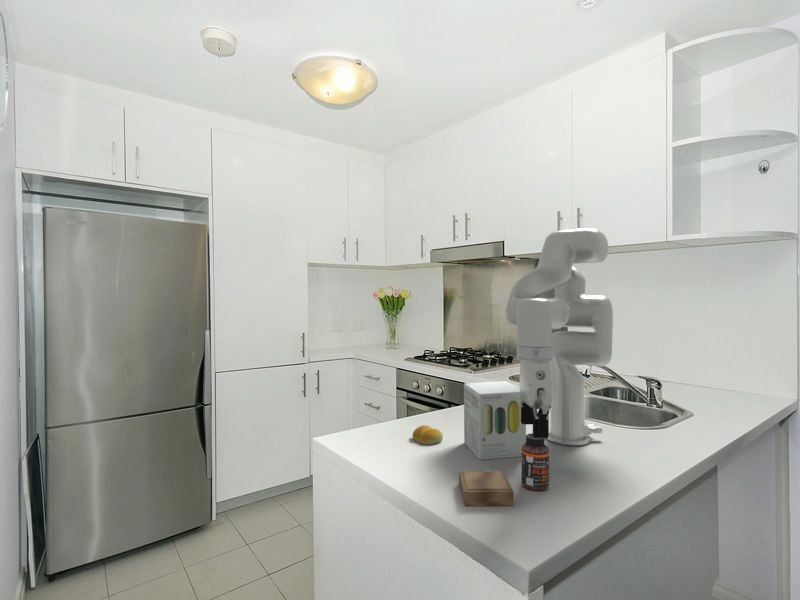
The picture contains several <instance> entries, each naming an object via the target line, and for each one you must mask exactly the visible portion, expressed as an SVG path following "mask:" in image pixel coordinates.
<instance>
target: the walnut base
mask: <svg viewBox="0 0 800 600" xmlns="http://www.w3.org/2000/svg"><path fill="white" fill-rule="evenodd" d="M458 485H459V490H460V494H461V497H462V501H463V505H464V507H514V505H515V504H514V489H513V488H512V486H511V484H510V482H509V480H508V478H507V476H506V474H505V472H504V470H459V471H458Z"/></svg>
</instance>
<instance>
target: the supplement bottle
mask: <svg viewBox="0 0 800 600" xmlns="http://www.w3.org/2000/svg"><path fill="white" fill-rule="evenodd" d="M545 443H546V438H534V437H533V432H532V433H526V443H524V444H523V445H522V453H521V454H522V456H521V471H520V473H521V478H520V479H521V484H522V486H523V487H525V488H526V489H528V490H530V491H537V492H538V491H541V492H542V491H546V490H547V489H548V488H549V486H550V448H549V447H548V446H547V445H546V444H545Z"/></svg>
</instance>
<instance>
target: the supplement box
mask: <svg viewBox="0 0 800 600" xmlns="http://www.w3.org/2000/svg"><path fill="white" fill-rule="evenodd" d="M521 400H522V399H521V397H520V387H518V386H516V385H514V384H513V383H510V382H508V381H506V380H503V381H483V382H470V383H463V427H464V428H463V438H464V439H463V442H464V444H465V445H466V446H467V447H468V448H469V450H471V452H472V453H473V455H475V456H476V457H477V459H479V460H480V461H481V460H491V459H504V458H505V459H507V458H519V457H522V454H521V453H522V445H523V444H524V443H526V435H527V424H522V423H521V407H524V406H521Z"/></svg>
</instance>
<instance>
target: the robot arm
mask: <svg viewBox="0 0 800 600" xmlns="http://www.w3.org/2000/svg"><path fill="white" fill-rule="evenodd" d="M608 254H609V242H608V239H607V236H606V235H605V234H604V233H603V232H601V231H600V230H599V229H596V228H589V227H587V228H576V229H574V228H573V229H564V230H556V231H553V232H551V233H550V234H548V236H546V238H545V240H544V243H543V246H542V248H541V253H540V257H539V260H538V263H537V266H536V267H534V269H531V270H530V271H529V272H527V273H526V274H524V275H523V276H522V277H521V278H519V279H518V280H517V281H516V283H514V285H513V286H512V289H511V291H510V295H509V297H508V301H507V303H506V308H505V317H506V321H507V323H508V324H509V325H510V327H513V328H516V361H518V362H520V365H519V388H520V397H521V399H522V400H521V406H524V407H521V423H522V424H526V425H532V433H533V437H534V438H545V439H546V440H548V441H550V442H552V443H554V444H559V445H564V446H573V447H575V446H578V447H579V446H585V445H588V444H589V443H591V441H592V440H591V439H592V437H591V435H592V434H602V433H603V428H602V426H594V424H587V423H586V419H585V418H586V412H585V411H586V409H585V408H586V406H585V403H586V401H585V400H586V399H585V398H586V397H585V393H586V392H585V391H586V390H585V389H586V388H585V385H586V384H585V383H586V382H585V378H584V376H583V374H582V372H581V371H580V370H579V368H577V366H592V367H593V366H594V367H605V366H607V365H609V364H610V362H611V360H612V354H613V327H614V325H613V323H614V322H613V321H614V319H613V318H614V313H613V312H614V311H613V305H612V302H611V300H610V299H609V298H608V297H607V296H604V295H599V294H598V295H597V294H596V295H595V294H594V295H593V294H592V295H590V294H589V295H587V294H586V283H587V282H586V278H585V277H584V276H583V274H582V273H581V272H580V271H579V270H578V269H577V267H575V266H574V264H597V263H598V264H599V263H602V262H605V260H606V259H607V257H608ZM552 290H554V297H540V296H539V297H535V296H537V295H540V294H542V293H546V292H549V291H552ZM563 327H564V328H581V329H583V328H584V329H587V328H588V329H592V330H594V331H578V330H576V331H574V330H573V331H572V330H571V331H570V330H560V329H562V328H563ZM552 330H559V331H554V332H553V331H552Z"/></svg>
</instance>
